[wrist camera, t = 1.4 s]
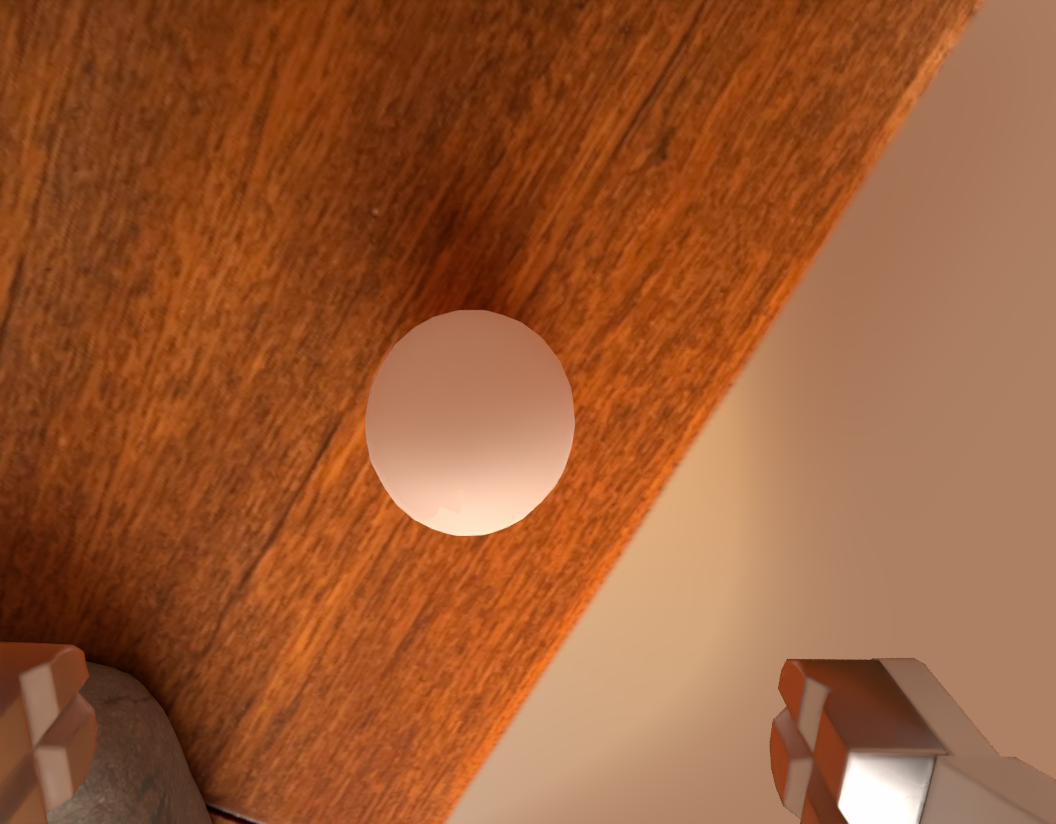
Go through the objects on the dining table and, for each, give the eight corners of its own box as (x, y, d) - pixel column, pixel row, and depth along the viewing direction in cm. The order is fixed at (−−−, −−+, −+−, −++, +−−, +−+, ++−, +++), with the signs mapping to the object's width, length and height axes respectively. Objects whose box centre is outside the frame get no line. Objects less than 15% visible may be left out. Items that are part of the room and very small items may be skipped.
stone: (-13, 898, 26) (-320, 1121, 16) (15, 629, 28) (-253, 685, 18) (253, 895, 27) (110, 1112, 17) (269, 630, 28) (144, 686, 18)
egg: (596, 395, 21) (639, 518, 14) (456, 483, 22) (433, 641, 15) (500, 251, 20) (496, 309, 13) (355, 350, 20) (276, 455, 14)
